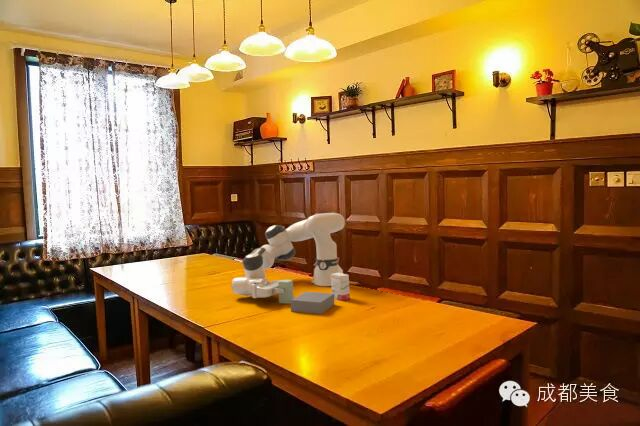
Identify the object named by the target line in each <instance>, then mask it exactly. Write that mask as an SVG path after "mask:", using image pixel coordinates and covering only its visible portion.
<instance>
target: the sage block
mask: <svg viewBox="0 0 640 426" xmlns="http://www.w3.org/2000/svg"><path fill="white" fill-rule="evenodd" d="M278 287H279V289H282V288H283V289H285V292H284V293H278V304H287V305H289V304H291V300H292V299H293V298H294V280H293V279H282V280H281V281H279V282H278Z"/></svg>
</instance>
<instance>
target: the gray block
mask: <svg viewBox="0 0 640 426" xmlns="http://www.w3.org/2000/svg"><path fill="white" fill-rule="evenodd" d="M334 305H335V298H334V294H332V292H330V293H327V292H318V291H317V292H316V291H315V292H314V291H305V292H303V293H301V294H298V295H297V296H295V297H293V299H292V300H291V303H290V312H293V313H294V312H295V313H303V314H304V313H305V314H313V315H314V314H316V315H322V314H324V313H325V312H327V310H329V309H330V308H332V307H333V306H334Z"/></svg>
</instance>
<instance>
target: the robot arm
mask: <svg viewBox="0 0 640 426" xmlns="http://www.w3.org/2000/svg"><path fill="white" fill-rule="evenodd" d="M345 226H346V219H345V217H344V216H343V215H342V214H341V213H337V212H324V213H316V214H313V215H311V216H309V217H308V218H306V219H303V220H300V221H298V222H295V223H293V224H291V225H289V226H288V227H287V228H285V226H283V225H279V224H274V225H272V226H269V227H268V228H267V229H266V231H265V232H264V235H265V238H266V240H267V242H268V244H264V245H262V246H261V247H257V248H255V249H253V250H252V251H251V252H250V253H248V254H247V255H245V257H244V258H243V259H242V261H241V262H242V266H243V268H244V274H245V276H241V277H239V276H238V277H234V278H233V279H232V281H231V288H232V289H231V290H232V292H233V293H234V294H236V295H240V296H246V297H247V296H252V297H251V298H252V299H257V298H269V297H270V298H271V296H274V295H276V294H279V293H284V292H285V289H283V288H282V289H279V287H278V282H279V281H281V280H277V279H274V280H271V281H269V280H268V279H267V278H266V272H265V271H266V270H269V269H270V268H271V267H272V266H273V265H274V262H275V260H277V261H288V260H291V259H292V258H293V257H294V256H295V255H296V249H295V246H293V243H292V242H303V241H306V240H309V239H314V241H315V248H316V258H315V265H316V266H315V267H314V268H313V280H311V284H314V285H315V286H318V287H319V286H320V287H332V284H331V274H333V273H343V274H344V270H343V268H341V266H340V265H339V261H340V257H338V251H337V250H338V249H337V248H338V247H337V246H338V245H337V243H336V241H334V240H333V239H332V237H331V234H333V233H337V232H339V231H341V230H343V229H344V227H345Z"/></svg>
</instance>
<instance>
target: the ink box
mask: <svg viewBox="0 0 640 426" xmlns="http://www.w3.org/2000/svg"><path fill="white" fill-rule="evenodd" d="M349 277H350V275H349V274H346V273H344V272H343V273H333V274H331V284H332V286H331V294H334V300H340V301H347V300H350V299H351V293H350V279H349Z"/></svg>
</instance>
